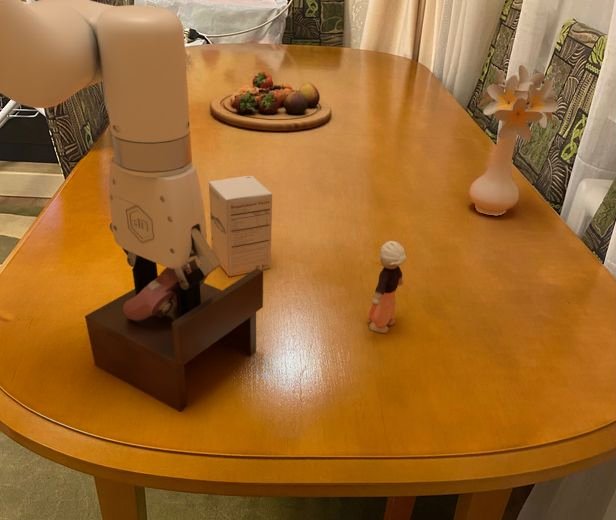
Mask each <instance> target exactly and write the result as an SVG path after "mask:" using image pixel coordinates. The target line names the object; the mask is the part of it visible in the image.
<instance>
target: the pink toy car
mask: <svg viewBox="0 0 616 520" xmlns="http://www.w3.org/2000/svg"><path fill="white" fill-rule="evenodd" d="M184 267H185V269H186V272H187V275H189V274H190V273H191V272H192V271H191V268H190V266H189V263H188V264H186V265H184ZM207 278H208V276H207V277H205V278H204V279H203V280H202V281H200V285H201V284H202V283H205V281H206V280H207ZM178 286H180V284H179V281H178V279H177V276H176V273H175V271H174V269H170V268H167V267H165V268H164V269H163V270H162V271H161V272H160V273H159V274H158V277H157V278H156V279H155V280H153V281H152V282H151V283H149V284H148V285H147V286H146V287H145V288H144V289H143V290H142V291H141V292H140V293H139V294H138V295H136V296H135V297H133V298H132V299H130V300H128V301H127V302H125V304H124V306H123V311H124V314H125V316H126V317H127V318H129V319H130V320H134V321H140V320H144V319H146V318H148V317H150V316H152V315H157V316H159V317H160V318H161V317H164V316H165V315H166V314H167V313H168V312H169V311H170V310H171V309H172V307H173V302H172V300H173V301H174V302H175V303H176V304H177V296H176V288H177V287H178Z"/></svg>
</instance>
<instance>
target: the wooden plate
mask: <svg viewBox="0 0 616 520" xmlns="http://www.w3.org/2000/svg"><path fill="white" fill-rule="evenodd" d="M320 95H321V94H320V92H319V90H318V89H317V87H316V86H315V84H313V83H311V82H310V81H306V82H304V83H303V84H302V85H301V86H300V87H299V89H294V88H292V86H291V85H290V84H288V83H279V84H274V81H273V78H272V75H271V74H270V72H268V71H261V72H258V74H257V75H255V74H254V75H253V79H252V84H249V83H247V84H244V85H241V86H240V87H239V88H238V89H237V90H233V91H228V92H224V93H221V94H219V95H217V96H215V97H213V99H212V100H211V101H210V104H209V110H210V112H211V114H212V115H213V116H214V117H216V118H217V119H219V120H220V121H223V122H224V123H227V124H229V125H233V126H237V127H241V128H246V129H250V130H251V129H252V130H262V131H273V132H275V131H277V132H278V131H280V132H282V131H283V132H284V131H286V132H287V131H298V130H300V131H301V130H305V129H306V130H307V129H310V128H314V127H318V126H320V125H322V124H324V123H326V122H328V120H329V119H330V118H331V116H332V108H331V106H330V105H329V104H328V102H326V101H325V100H323V99H322V98H321V96H320Z"/></svg>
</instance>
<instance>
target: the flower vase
mask: <svg viewBox="0 0 616 520" xmlns="http://www.w3.org/2000/svg"><path fill="white" fill-rule="evenodd" d="M505 75H506V69H504V70H503V69H500V70H499V72H498V74H497V76H496V78H495V82H494V84H493V83H492V84H489V85H488V86H487V88H486V90H485V92H484V93H483V94H482V99H483V98H484V99H483V100H482V101H481V102H480V103H479V104H478V105H477V108H479V107H481V106H482V105H485V104H486V103H488V102H490V103H489V104H487V105H486V107H485V108H484V109H483V111H482V113H483V115H485V116H490V115H493V116H494V117H495V119H496V120H498V121H500V122H501V126H500V127H501V128H500V129H499V130H498V135H497V137H498V141H497V144H496V149H495V152H494V155H493V158H492V161H491V163H490V165H489V166H488V168H487V169H486V171H485V172H484V173H483V174H481V175H480V176H479V177H476V179H475V180H473V182H472V183H471V185H470V186H469V189H468V197H469V199H470V201H471V202H472V203H473V204H475V207H476V208H477V209H478V210H479V211H482V212H484V213H488V214H500V213H503V212H505V211H506V210H507V211H508V210H510V209H512V208H513V207H514V206H515V205H517V203H518V201H519V200H520V190H519V186H518V185H517V183H516V181H515V180H514V178H513V174H512V172H513V171H512V161H513V156H514V152H515V151H514V150H515V147H516V142H517V138H518V136H519V138H520V139H522V140H523V141H529V140H530V139H531V137H532V132H531V128H530V125H529V123H530V124H533V123H537V122H538V123H539V125H540V126H541V128H542V129H546V128H547V127H548V120H549V122H550V123H553V113H556V112H557V111H558V110H559V103H558V102H557V101H555V97H556V96H555V95H556V93H555V90H554V89H553V90H552V88H553V85H554V82H555V76H552V79H551V80H549V79H548V80H545V78H546V76H545V73H543V72H542V71H541V72H536V73H534V74H532V76H530V77H529V72H528V69H527V67H526V66H525V65H524V64H519V66H518V76H517V75H515V74H513V75H511V76H510V77H509V78H508V79H505ZM544 80H545V81H544ZM542 83H543V84H542ZM540 85H541V87H539V86H540ZM492 100H494V101H492ZM491 101H492V102H491Z"/></svg>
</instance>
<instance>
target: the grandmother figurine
mask: <svg viewBox="0 0 616 520" xmlns="http://www.w3.org/2000/svg"><path fill="white" fill-rule="evenodd" d="M379 253H380V258H379V259H380V264H381V266H382V270H381V271H380V273H379V274H378V282H377V285H376V288H375V290H374V294H373V298H372V300H371V304H370V307H369V311H368V315H367V320H368V321H371V322H370V323H369V325H368V329H369V330H370V331H372V332H376V333H379V334H387V333H388V332H389V331H390V329H389V326H394V325H395V324H396V320H395V319H394V317H395V314H396V313H395V312H396V304H397V303H396V301H397V300H396V292H397V289H398V287H399V286H400V287H401V286H403V284H404V279H403V272H402V270H401V267H400V266H401V265H403V264H404V263H405V262H406V260H407V256H406V251H405V248H404V246H402V245H401V244H400V243H399V242H397V241H396V240H388V241H386V242H385V243H383V245H381V247H380V251H379Z"/></svg>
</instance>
